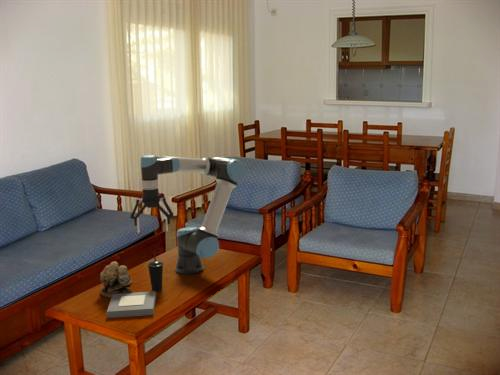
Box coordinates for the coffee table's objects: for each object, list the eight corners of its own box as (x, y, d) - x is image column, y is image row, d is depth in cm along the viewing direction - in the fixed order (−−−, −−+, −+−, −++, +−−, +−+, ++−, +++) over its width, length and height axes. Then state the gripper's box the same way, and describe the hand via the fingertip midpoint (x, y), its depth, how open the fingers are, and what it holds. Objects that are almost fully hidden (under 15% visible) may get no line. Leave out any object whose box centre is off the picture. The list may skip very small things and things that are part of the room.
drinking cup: (146, 289, 272) (143, 251, 268) (159, 285, 277) (157, 247, 273) (154, 294, 266) (151, 254, 262) (167, 290, 271) (165, 251, 267)
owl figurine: (139, 291, 270) (137, 258, 266) (127, 301, 259) (124, 267, 256) (107, 287, 276) (105, 255, 272) (94, 297, 265) (91, 263, 261)
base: (156, 297, 263) (155, 290, 262) (153, 314, 243) (152, 307, 242) (113, 299, 261) (112, 293, 260) (107, 318, 241) (106, 311, 240)
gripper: (122, 191, 256) (125, 234, 260) (176, 188, 259) (178, 232, 263) (124, 187, 263) (127, 230, 268) (177, 185, 266) (179, 228, 270)
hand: (152, 231), depth 265 cm, fingers open, 13 cm apart
